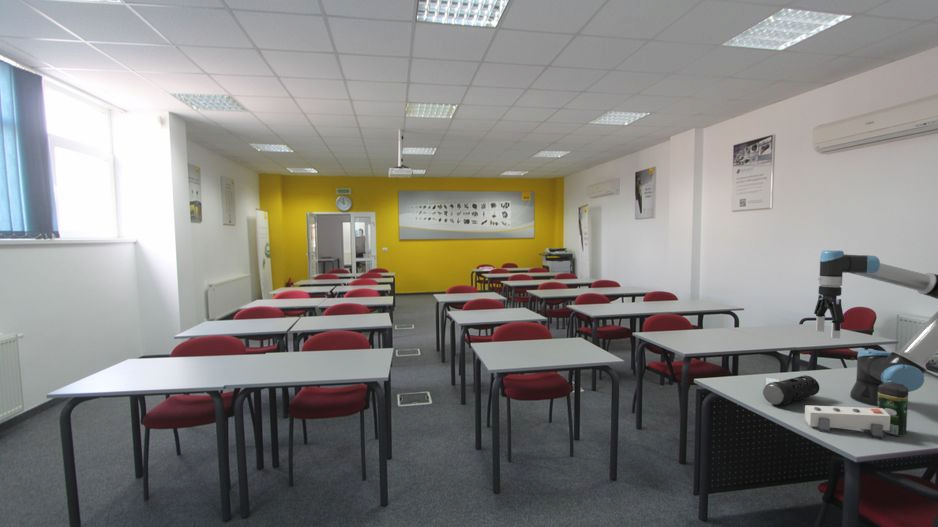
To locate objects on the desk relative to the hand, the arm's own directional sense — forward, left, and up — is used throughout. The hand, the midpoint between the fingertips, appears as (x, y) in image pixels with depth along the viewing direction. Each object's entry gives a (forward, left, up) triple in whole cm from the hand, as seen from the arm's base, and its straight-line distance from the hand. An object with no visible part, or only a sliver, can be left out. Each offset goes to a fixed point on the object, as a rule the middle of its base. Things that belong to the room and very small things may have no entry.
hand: (827, 334), depth 183 cm
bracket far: (+12, +26, -32) cm, 43 cm away
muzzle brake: (+12, -1, -32) cm, 34 cm away
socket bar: (+4, +26, -29) cm, 40 cm away
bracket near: (-4, +26, -32) cm, 41 cm away
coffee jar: (-12, +22, -32) cm, 41 cm away
